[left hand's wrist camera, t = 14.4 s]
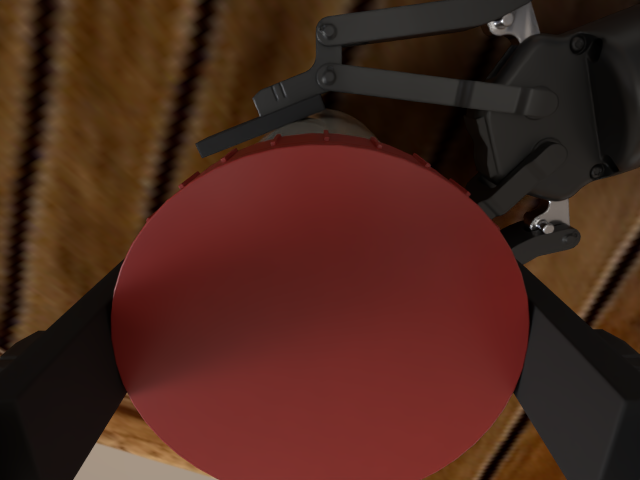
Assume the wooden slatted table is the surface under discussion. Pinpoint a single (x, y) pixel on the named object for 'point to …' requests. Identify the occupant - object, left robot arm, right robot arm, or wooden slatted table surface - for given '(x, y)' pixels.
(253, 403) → the lid
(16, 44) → the wooden slatted table surface
